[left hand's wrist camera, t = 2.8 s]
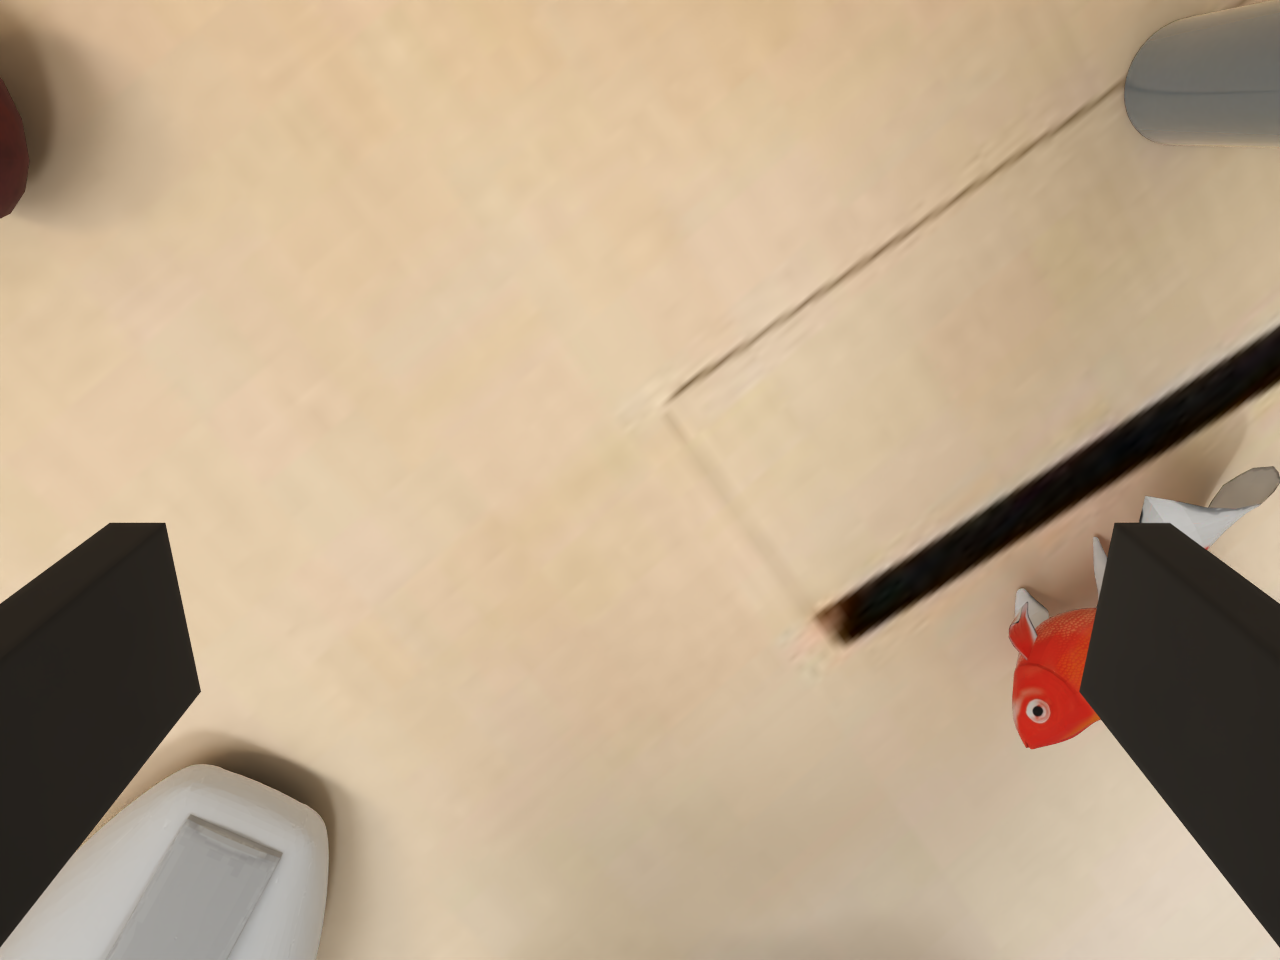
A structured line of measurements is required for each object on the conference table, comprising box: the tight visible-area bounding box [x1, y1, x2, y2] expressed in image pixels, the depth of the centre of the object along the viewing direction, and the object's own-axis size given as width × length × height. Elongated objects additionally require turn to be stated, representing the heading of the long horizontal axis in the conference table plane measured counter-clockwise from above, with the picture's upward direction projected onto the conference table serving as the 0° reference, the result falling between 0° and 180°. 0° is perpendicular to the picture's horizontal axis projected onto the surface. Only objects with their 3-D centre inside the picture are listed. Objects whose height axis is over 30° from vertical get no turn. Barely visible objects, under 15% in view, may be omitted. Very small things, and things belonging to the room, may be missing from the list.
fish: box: [1009, 466, 1280, 749], centre depth 40 cm, size 11×16×10 cm
